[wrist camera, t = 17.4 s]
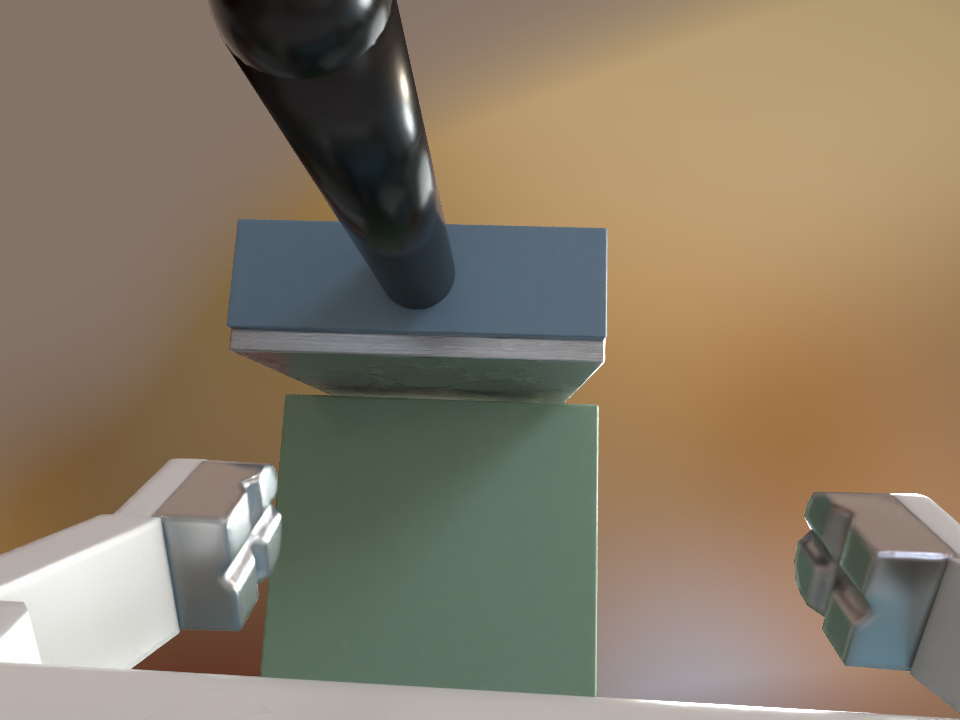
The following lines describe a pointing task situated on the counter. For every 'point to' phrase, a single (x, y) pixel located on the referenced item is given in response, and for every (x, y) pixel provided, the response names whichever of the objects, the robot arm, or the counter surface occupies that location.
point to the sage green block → (436, 545)
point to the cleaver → (393, 235)
